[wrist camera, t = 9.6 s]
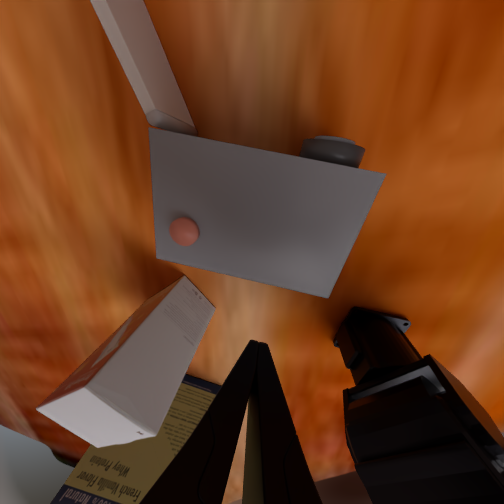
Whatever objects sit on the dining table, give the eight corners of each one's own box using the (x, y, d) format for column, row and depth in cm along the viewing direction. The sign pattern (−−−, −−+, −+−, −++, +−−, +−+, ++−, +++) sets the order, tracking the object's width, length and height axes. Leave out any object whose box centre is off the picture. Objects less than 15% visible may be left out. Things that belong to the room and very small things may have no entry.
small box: (184, 273, 23) (82, 387, 11) (217, 308, 24) (158, 439, 13) (145, 298, 25) (31, 411, 14) (177, 328, 27) (98, 451, 15)
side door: (127, -6, 13) (32, -113, 8) (137, -15, 13) (46, -132, 8) (189, 141, 16) (149, 129, 11) (199, 136, 16) (162, 122, 11)
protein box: (146, 360, 32) (41, 511, 18) (231, 388, 32) (192, 561, 18) (145, 390, 36) (61, 530, 22) (219, 415, 36) (181, 570, 22)
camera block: (357, 151, 15) (408, 141, 9) (314, 262, 19) (329, 303, 14) (192, 120, 16) (139, 91, 10) (189, 234, 20) (151, 261, 14)
